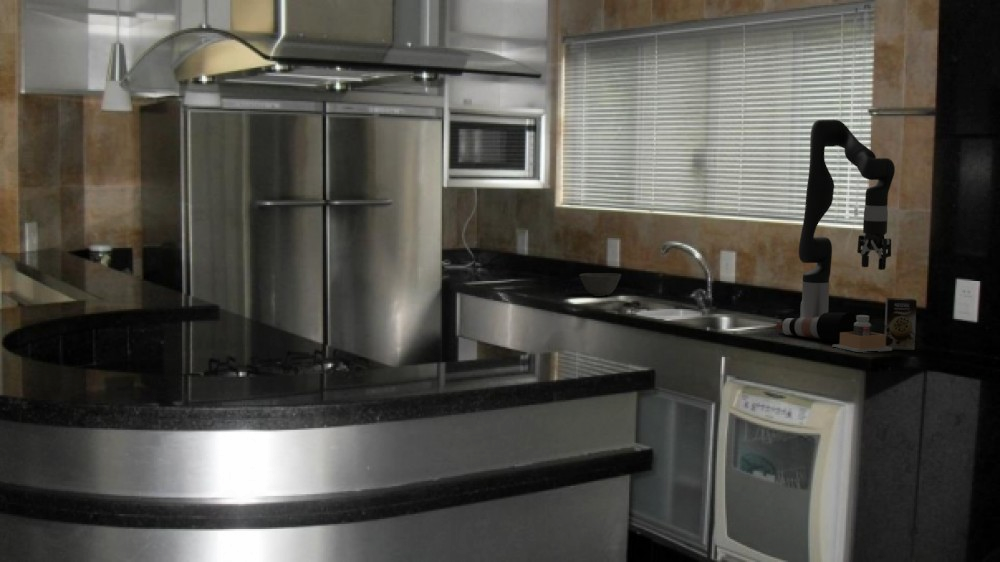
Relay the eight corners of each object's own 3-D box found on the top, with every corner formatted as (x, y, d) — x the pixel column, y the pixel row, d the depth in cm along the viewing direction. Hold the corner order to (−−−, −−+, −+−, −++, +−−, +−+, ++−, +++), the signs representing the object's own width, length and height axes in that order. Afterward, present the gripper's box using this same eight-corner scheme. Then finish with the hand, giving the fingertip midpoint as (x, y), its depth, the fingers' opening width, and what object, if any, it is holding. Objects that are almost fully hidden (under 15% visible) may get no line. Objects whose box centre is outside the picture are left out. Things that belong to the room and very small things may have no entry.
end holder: (832, 347, 391) (832, 332, 390) (867, 345, 396) (868, 330, 395) (856, 352, 379) (856, 337, 379) (892, 350, 385) (892, 335, 384)
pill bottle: (864, 347, 384) (865, 317, 383) (849, 345, 388) (850, 315, 387) (873, 345, 388) (874, 315, 387) (858, 344, 392) (859, 314, 391)
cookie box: (885, 349, 388) (887, 299, 386) (883, 346, 394) (885, 297, 392) (915, 350, 386) (917, 300, 384) (912, 347, 392) (914, 298, 391)
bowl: (622, 294, 549) (623, 272, 548) (619, 299, 530) (619, 276, 529) (582, 293, 552) (582, 271, 551) (576, 298, 534) (577, 275, 533)
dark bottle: (783, 345, 426) (791, 319, 428) (855, 347, 397) (863, 319, 399) (763, 334, 421) (772, 307, 423) (835, 335, 392) (843, 307, 394)
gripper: (899, 220, 390) (896, 270, 392) (871, 217, 403) (868, 265, 405) (880, 221, 387) (877, 271, 389) (852, 218, 400) (850, 266, 402)
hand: (873, 268), depth 397 cm, fingers open, 8 cm apart
